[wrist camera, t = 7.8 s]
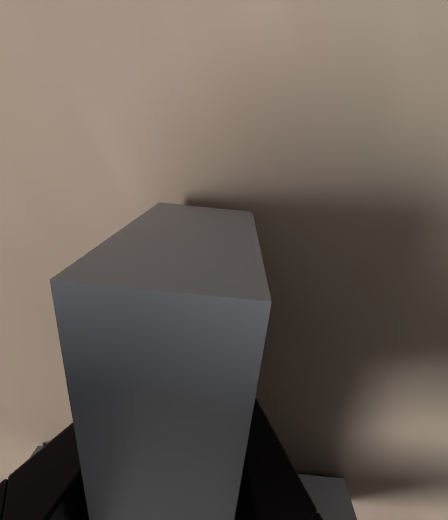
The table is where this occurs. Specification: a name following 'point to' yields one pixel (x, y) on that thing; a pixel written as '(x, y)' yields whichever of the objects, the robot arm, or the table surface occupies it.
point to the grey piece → (169, 365)
